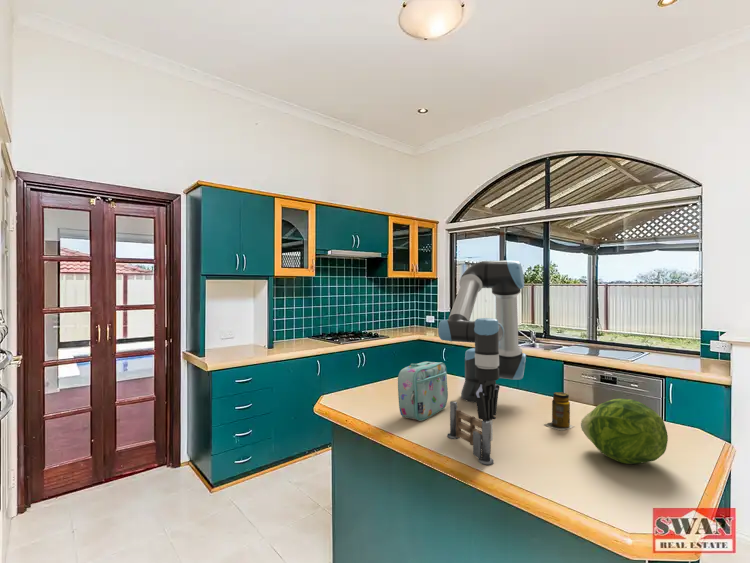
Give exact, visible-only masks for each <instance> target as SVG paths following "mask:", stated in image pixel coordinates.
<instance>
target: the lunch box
mask: <svg viewBox="0 0 750 563" xmlns="http://www.w3.org/2000/svg"><path fill="white" fill-rule="evenodd" d="M446 366H447V365H446V364H445V363H444V362H441V361H440V362H435V361H422V362H419V363H410V365H408V366H405V367H404V368H402V369H401V370H400V371H399V373H398V375H397V376H398V377H397V396H398V409H399V413H400V416H401V417H402V418H406V419H413V420H416V421H419V422H420V421H425V420H427V419H429V418H431V417H433V416H434V415H435V414H437V413H439V412H440V411H442V410H444V409H445V408H446V405H447V403H448V399H449V391H448V388H449V387H448V377H447V376H448V374H447V373H448V371H447V367H446Z"/></svg>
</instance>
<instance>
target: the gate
mask: <svg viewBox="0 0 750 563" xmlns="http://www.w3.org/2000/svg"><path fill="white" fill-rule="evenodd" d="M462 420H463V421H465V422H463V421H462ZM482 421H483V420H481V419H479V418H476V416H472V415H469V414H467V413H465V412H463V411H462V410H460V409H457V410H456V437H458V438H459V439H462V440H464V441H466V442H468V443H469V445H470V446H473V431H477V432H478V433H480V434H481V435H482ZM466 422H467V423H469V424H467V423H466ZM476 427H477V428H478V429H477V428H476ZM480 429H481V430H480ZM468 433H469V434H468ZM491 443H492V441H491V424H490V455H491V454H492V449H491V448H492V446H491V445H492V444H491Z"/></svg>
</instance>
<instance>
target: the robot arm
mask: <svg viewBox="0 0 750 563" xmlns="http://www.w3.org/2000/svg"><path fill="white" fill-rule="evenodd" d="M458 282H459V289H458V292H457V295H456V297H455V300H454V302H453V305H452V309H451V311H450V313H449V316H448V319H442V320H440V321H439V323H438V330H437V333H438V336H439V339H440V340H442V341H446V342H451V343H452V342H456V343H457V342H459V343H473V344H474V347H473V348H469V349H467V350H466V351H465V354H464V356H465V357H464V383H463V386H462V389H461V392H460V397H461V399H462V400H464V401H466V400H467V401H466V402H471V403H475V404H476V411H477V417H478V418H477V419H478V420H481V421H483V420H487V421H490V424H491V442H492V441H493V439H494V438H493V436H494V434H493V420H494V421H495V420H496V416H497V411H498V401H499V400H498V399H499V391H500V387H501V386H500V384H497V383H496V382H497V381H498V380H499V379H508V380H511V381H512V380H522V379H523V378H524V373H525V368H526V361H527V360H526V358H527V355H526V353H525V352H523V348H521V346H520V345H519V327H518V326H519V324H518V323H519V322H518V316H519V315H518V295H519V294H521V290H522V289H524V287H525V276H524V271H523V266H522V264H521V263H520V261H518V260H510V259H509V260H486V261H485V260H483V261H479V262H476V263H474V264H473V265H471V266H469V267H468V268H467V269H466V270H465V271H464V272H463V274H461V277H460V278H459V281H458ZM482 289H491V293H492V294H493V295H494V297H495V306H496V308H495V309H496V318H493V317H491V318H490V317H479V318H476V319H475V320H474V321H473V320H471V317H472V314H473V310H474V306H475V303H476V300H477V297H478V294H479V292H481V291H482Z"/></svg>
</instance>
